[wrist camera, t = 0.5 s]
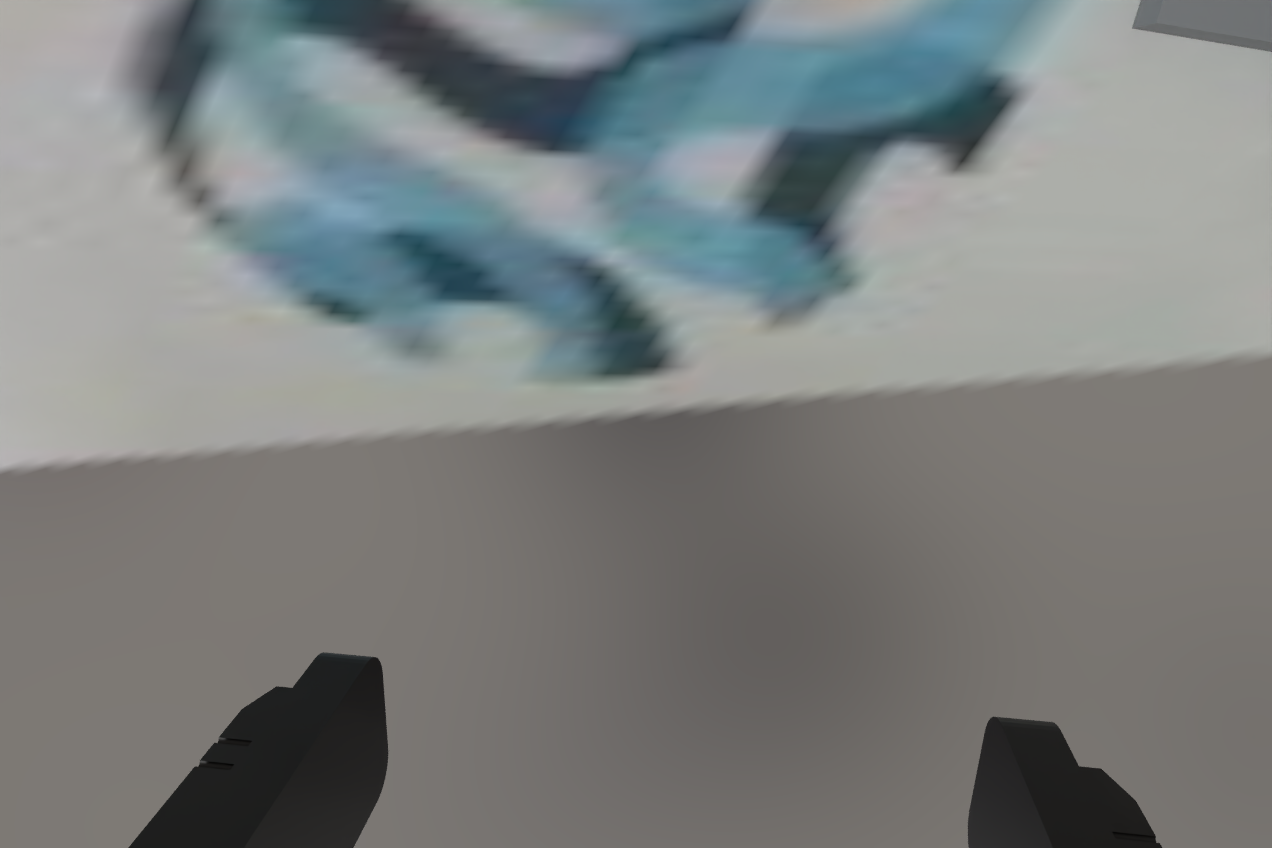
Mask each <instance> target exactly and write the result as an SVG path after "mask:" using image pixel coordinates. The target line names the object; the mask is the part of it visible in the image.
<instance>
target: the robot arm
mask: <svg viewBox="0 0 1272 848" xmlns="http://www.w3.org/2000/svg"><path fill="white" fill-rule="evenodd" d="M386 728H387V727H386V713H385V699H384V685H383V672H382V666H381V663H380V661H379V659H378V658H376V657H366V656H356V655H345V654H334V653H321V654H319V655H318V656H317V657H316V658H315V659H314V660H313V662H312V663H311V664H310V666H309V667H308V669H307V670H306V671H305V672H304V674H303V675H302V676H301V678H300V679H299V680H298V681H297V683H296V684H295V685H294V687H293V688H287V687H275V688H273V689H272V690H271V691H269V692H267V693H266V694H264V695H263V696H261V697H260V698H258V699H257V700H255V701H254V702H252V703H251V704H249V705H248V706H246V707H245V708H243V709H242V710H241V711H240V712H239V713H238V715H237V716H236V717H235V718H234V719H233V721H232V722H231V723H230V724H229V726H228V727H227V728H226V729H225V730H224V732H223V733H222V734H221V735H220V737H219V741H218V743H214V744H213V745H212V746H211V748H210V749H209V750H208V751H207V753H206V754H205V755H204V756H203V757H202V759H201V760H200V765H199V766H198V767H194V768H193V770H192V771H191V772H190V773H189V774H188V776H187V777H186V778H185V779H184V781H183V782H182V783H181V784H180V785H179V787H178V788H177V789H176V790H175V792H174V793H173V794H172V795H171V796H170V798H169V799H168V800H167V801H166V803H165V804H164V805H163V806H162V807H161V809H160V810H159V811H158V812H157V814H156V815H155V816H154V817H153V818H152V820H151V821H150V822H149V823H148V825H147V826H146V827H145V828H144V830H143V831H142V832H141V833H140V834H139V836H138V837H137V838H136V839H135V840H134V842H133V843H132V844H131V845H130V847H129V848H353V847H354V845H355V843H356V841H357V840H358V838H359V836H360V834H361V832H362V830H363V828H364V826H365V824H366V822H367V820H368V818H369V816H370V814H371V812H372V811H373V809H374V807H375V805H376V803H377V801H378V799H379V796H380V793H381V791H382V788H383V784H384V780H385V776H386V771H387V763H388V741H387V729H386ZM1155 838H1156V836H1155V834H1154V832H1153V831H1152V829H1151V827H1150V825H1149V824H1148V822H1147V820H1146V818H1145V816H1144V815H1143V813H1142V811H1141V809H1140V807H1139V806H1138V804H1137V802H1136V801H1135V800H1134V799H1133V798H1132V797H1131V796H1130V795H1129V794H1128V793H1127V792H1126V791H1125V790H1124V789H1122V788H1121V787H1120V786H1119V785H1118V784H1117V783H1116V782H1115V781H1114V780H1113V779H1112V778H1111V777H1109V776H1108V775H1107V774H1106V773H1105V772H1104V771H1103V770H1102V769H1099V768H1089V767H1079V766H1078V764H1077V762H1076V760H1075V758H1074V756H1073V754H1072V752H1071V750H1070V748H1069V746H1068V744H1067V742H1066V740H1065V738H1064V736H1063V734H1062V732H1061V730H1060V729H1059V727H1058V726H1057V725H1056V724H1055V723H1053V722H1044V721H1034V720H1022V719H1012V718H1001V717H992V718H991V719H990V720H989V721H988V723H987V726H986V729H985V734H984V739H983V744H982V749H981V754H980V759H979V764H978V770H977V775H976V780H975V785H974V790H973V795H972V800H971V805H970V810H969V818H968V844H969V848H1162V847H1161V845H1160V843H1156V840H1155Z"/></svg>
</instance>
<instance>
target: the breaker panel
mask: <svg viewBox="0 0 1272 848" xmlns="http://www.w3.org/2000/svg"><path fill="white" fill-rule="evenodd" d="M1133 28H1134V29H1140V30H1146V31H1152V32H1158V33H1163V34H1169V35H1175V36H1181V37H1187V38H1193V39H1199V40H1205V41H1211V42H1217V43H1223V44H1229V45H1235V46H1241V47H1247V48H1253V49H1259V50H1265V51H1271V52H1272V0H1141V2H1140V6H1139V9H1138V12H1137V15H1136V18H1135V21H1134V24H1133Z"/></svg>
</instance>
